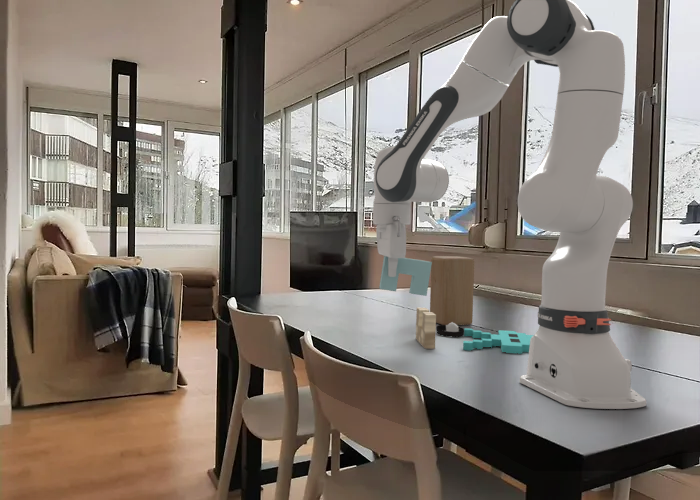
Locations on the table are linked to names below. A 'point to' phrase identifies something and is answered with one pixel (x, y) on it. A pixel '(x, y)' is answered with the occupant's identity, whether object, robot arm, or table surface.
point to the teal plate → (409, 267)
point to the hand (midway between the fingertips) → (390, 275)
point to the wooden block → (452, 289)
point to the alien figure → (498, 340)
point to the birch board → (425, 328)
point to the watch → (450, 330)
